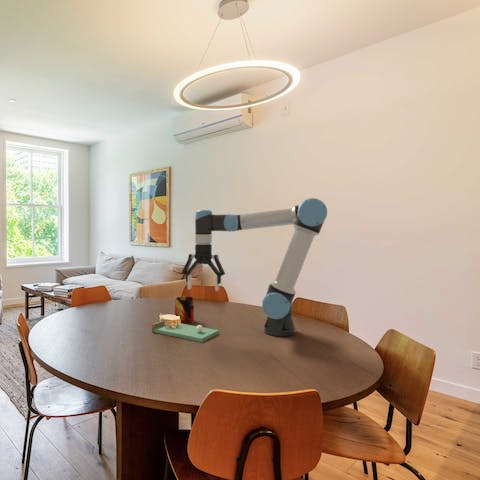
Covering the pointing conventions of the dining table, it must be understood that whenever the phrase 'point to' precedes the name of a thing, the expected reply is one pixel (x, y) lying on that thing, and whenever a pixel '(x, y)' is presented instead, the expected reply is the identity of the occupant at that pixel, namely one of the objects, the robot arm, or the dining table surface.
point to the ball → (199, 328)
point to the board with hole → (184, 331)
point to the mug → (185, 309)
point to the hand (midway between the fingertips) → (203, 289)
